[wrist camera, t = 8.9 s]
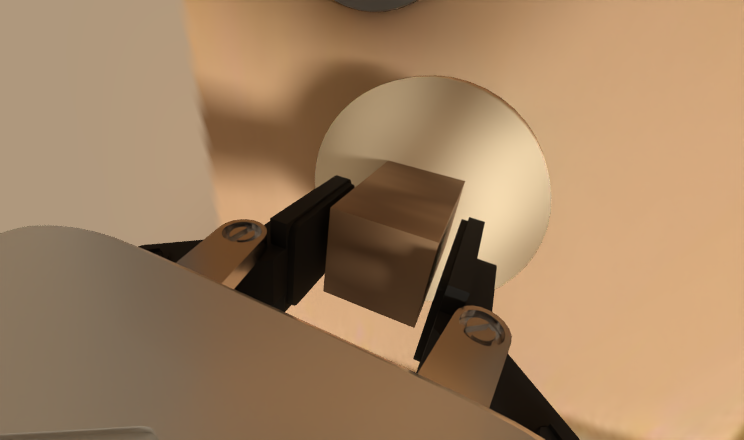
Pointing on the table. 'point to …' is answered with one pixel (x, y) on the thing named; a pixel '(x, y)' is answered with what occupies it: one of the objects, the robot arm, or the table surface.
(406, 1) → the mat
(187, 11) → the table surface
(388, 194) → the lid
